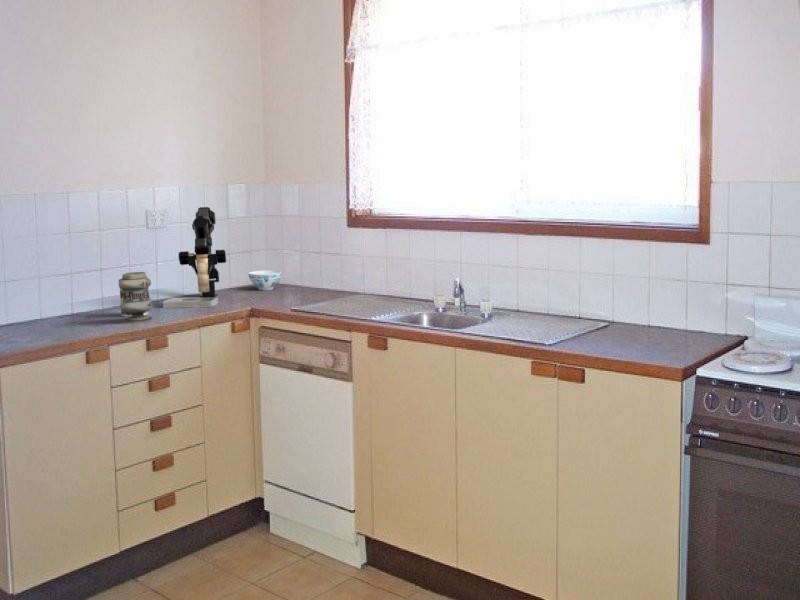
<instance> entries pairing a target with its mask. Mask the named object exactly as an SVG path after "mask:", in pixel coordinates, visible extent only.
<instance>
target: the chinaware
mask: <svg viewBox="0 0 800 600" xmlns="http://www.w3.org/2000/svg"><path fill="white" fill-rule="evenodd" d="M282 273H283V272H282V271H281V270H275V269H274V270H273V269H270V270H269V269H268V270H266V269H265V270H256V271H255V270H254V271H250V272H248V273H247V274H248V277H249V280H250V282H251V283H252V284H253V286H255V287H256V288H258V290H259V291H270V290H274V287H275V286H276V285H278V284H279V282H280V280H281V277H282Z"/></svg>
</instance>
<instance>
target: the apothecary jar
mask: <svg viewBox="0 0 800 600" xmlns="http://www.w3.org/2000/svg"><path fill="white" fill-rule="evenodd" d="M146 273H147V272H146V271H130V272H124V273H123V274H122V277H121V278H120V279H121V280H120V281H119V280H118V287H119V289H120V288H121V289H122V291H123V302H122V303H121V302H120V306H119V308H120V310H121V309H122V310H123V311H124V312H126V313H130V314H132V316H131V317H126V318H125V319H124V322H125V323H143V322H149V321H151V320H152V317H151V316H149V315H143V314H144V313H145V312H147V311H148V312H149V311H151V310H152V308H153V307H154V301H153V300H152V299H151V298H150V292H149V291H150V290H149V287H150V286H151V285H152V281H151V279H150V278H149V277H147V274H146Z"/></svg>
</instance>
